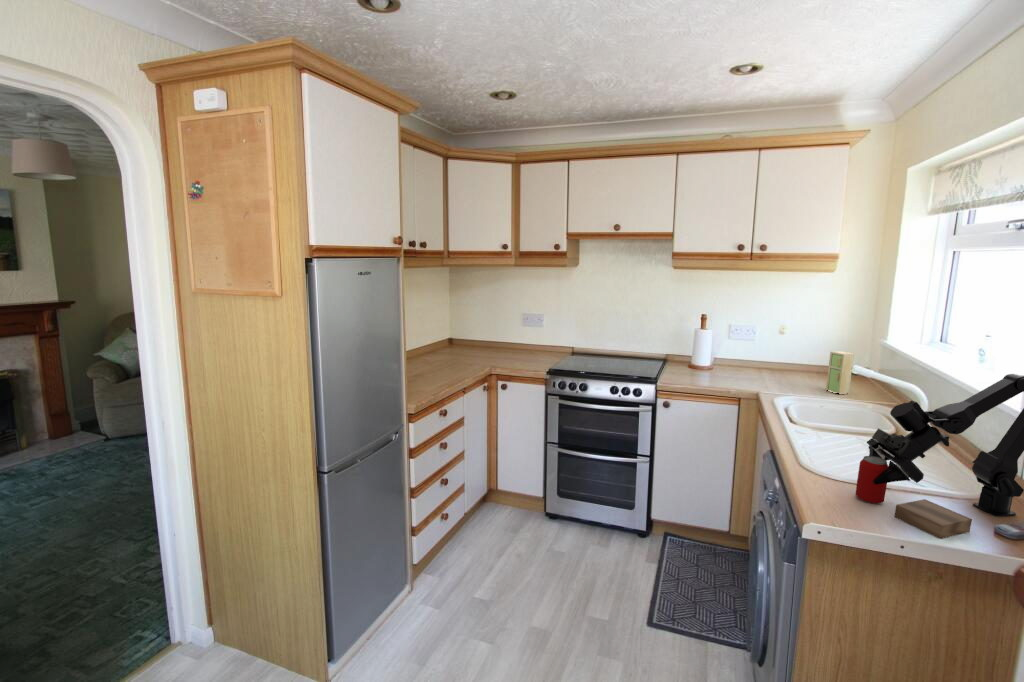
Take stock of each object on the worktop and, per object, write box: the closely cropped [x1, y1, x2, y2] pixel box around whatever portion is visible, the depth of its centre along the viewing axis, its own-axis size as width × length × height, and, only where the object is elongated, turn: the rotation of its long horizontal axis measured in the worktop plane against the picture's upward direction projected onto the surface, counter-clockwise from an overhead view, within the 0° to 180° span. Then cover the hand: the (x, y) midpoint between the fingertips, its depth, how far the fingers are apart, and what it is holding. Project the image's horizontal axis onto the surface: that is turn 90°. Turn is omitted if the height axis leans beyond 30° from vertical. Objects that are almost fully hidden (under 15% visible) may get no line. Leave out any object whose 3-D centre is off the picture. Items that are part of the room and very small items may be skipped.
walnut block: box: [893, 498, 973, 540], centre depth 132 cm, size 11×11×4 cm
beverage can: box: [855, 455, 889, 505], centre depth 144 cm, size 7×7×12 cm
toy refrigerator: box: [825, 350, 855, 393], centre depth 261 cm, size 8×7×21 cm
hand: (867, 477), depth 145 cm, fingers open, 7 cm apart
